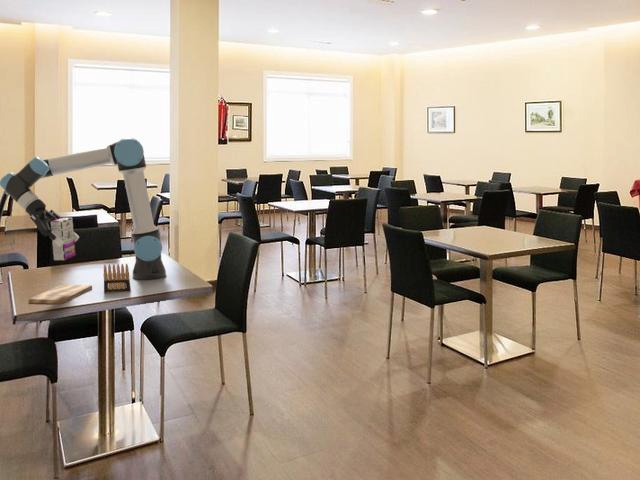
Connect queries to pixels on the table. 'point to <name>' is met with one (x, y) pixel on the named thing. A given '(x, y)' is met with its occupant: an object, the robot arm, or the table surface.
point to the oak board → (60, 294)
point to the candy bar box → (63, 238)
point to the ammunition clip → (116, 279)
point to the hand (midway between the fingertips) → (69, 242)
